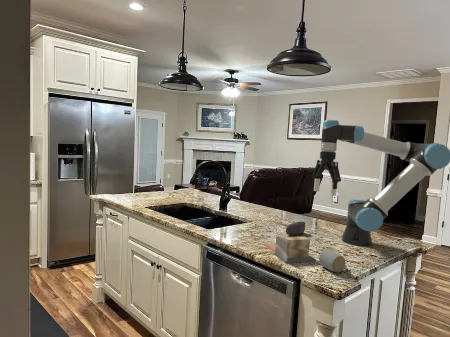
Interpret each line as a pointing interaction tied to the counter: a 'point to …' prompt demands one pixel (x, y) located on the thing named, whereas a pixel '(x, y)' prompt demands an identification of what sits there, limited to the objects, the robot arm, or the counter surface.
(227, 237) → the counter surface
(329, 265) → the ceramic mug
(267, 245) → the terracotta tile
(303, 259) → the slate mat
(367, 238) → the robot arm
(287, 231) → the perforated stone tool
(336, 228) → the counter surface
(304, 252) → the tan rectangular block
